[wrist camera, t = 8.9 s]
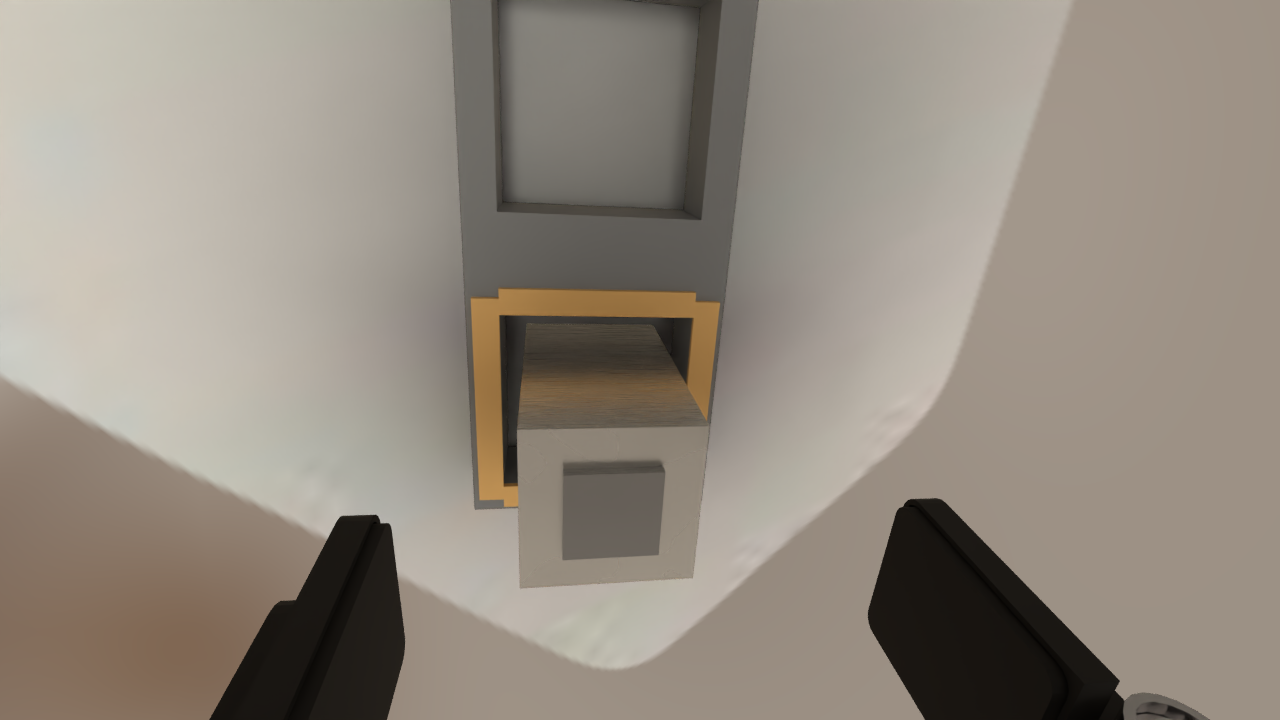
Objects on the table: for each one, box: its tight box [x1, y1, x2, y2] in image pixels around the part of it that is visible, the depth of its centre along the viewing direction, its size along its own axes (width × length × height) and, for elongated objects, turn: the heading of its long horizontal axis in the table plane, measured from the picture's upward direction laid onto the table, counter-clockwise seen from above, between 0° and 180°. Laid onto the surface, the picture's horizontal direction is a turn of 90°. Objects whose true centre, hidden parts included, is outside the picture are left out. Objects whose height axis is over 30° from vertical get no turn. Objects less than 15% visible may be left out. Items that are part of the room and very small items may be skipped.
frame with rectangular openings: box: [450, 0, 759, 510], centre depth 19 cm, size 17×8×3 cm, turn 176°
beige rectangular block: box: [517, 323, 710, 588], centre depth 18 cm, size 4×4×8 cm
